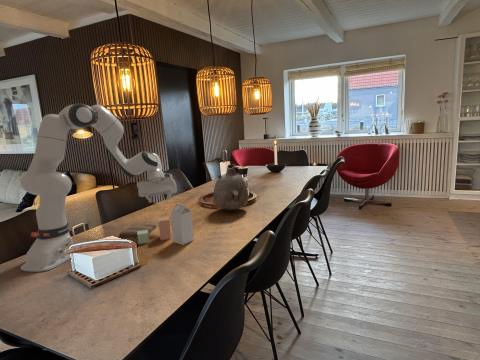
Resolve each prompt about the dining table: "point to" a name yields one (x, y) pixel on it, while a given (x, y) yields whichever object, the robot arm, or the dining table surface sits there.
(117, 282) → the dining table surface
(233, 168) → the jug
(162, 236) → the terracotta block
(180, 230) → the milk carton
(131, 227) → the walnut board
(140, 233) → the sage block
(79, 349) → the dining table surface
